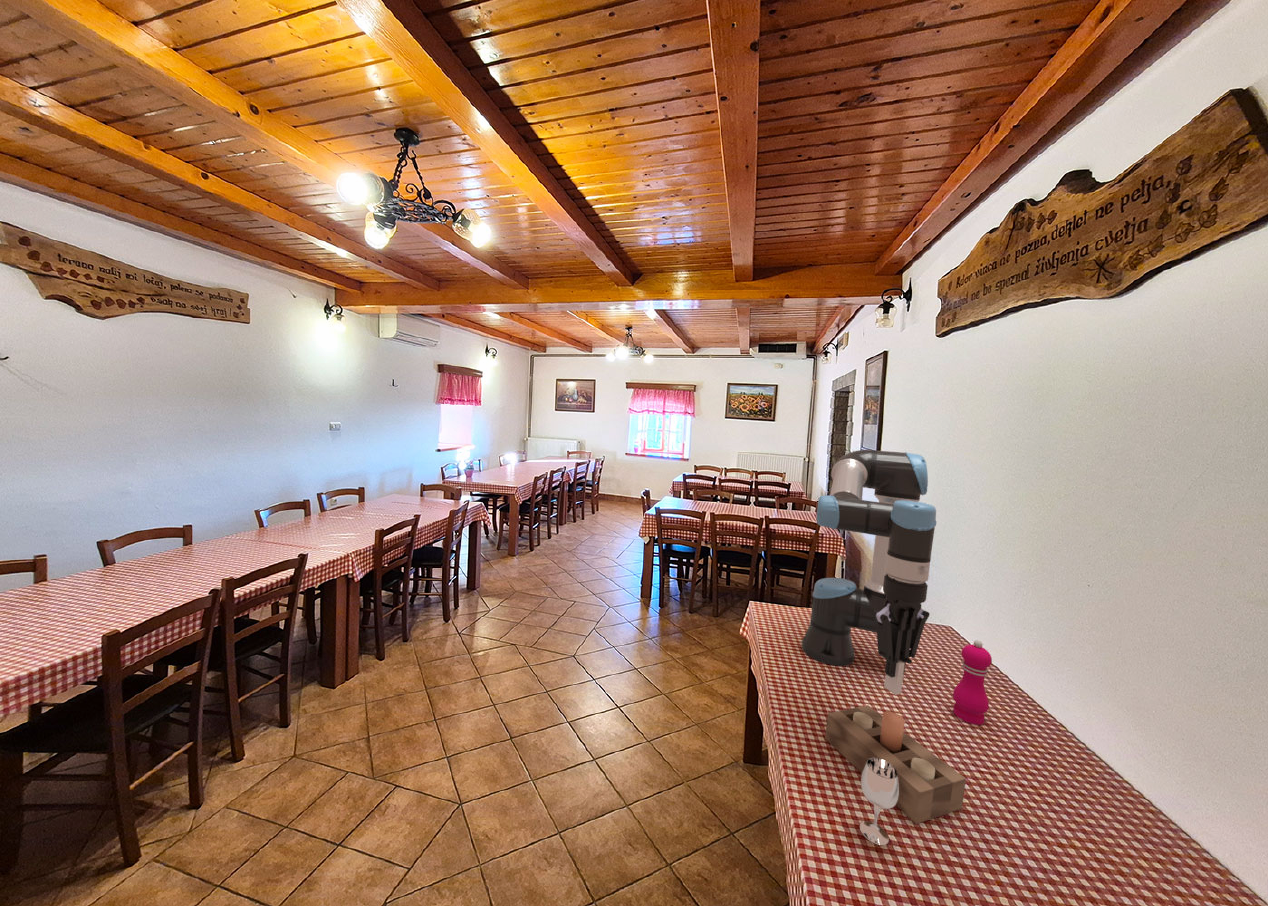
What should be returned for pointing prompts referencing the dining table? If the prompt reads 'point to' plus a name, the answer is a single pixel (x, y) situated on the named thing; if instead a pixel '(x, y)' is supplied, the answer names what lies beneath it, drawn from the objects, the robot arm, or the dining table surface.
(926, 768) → the near beech plug
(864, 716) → the far beech plug
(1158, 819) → the dining table surface
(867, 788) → the wineglass
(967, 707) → the pepper mill
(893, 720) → the rust plug
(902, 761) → the walnut socket block
